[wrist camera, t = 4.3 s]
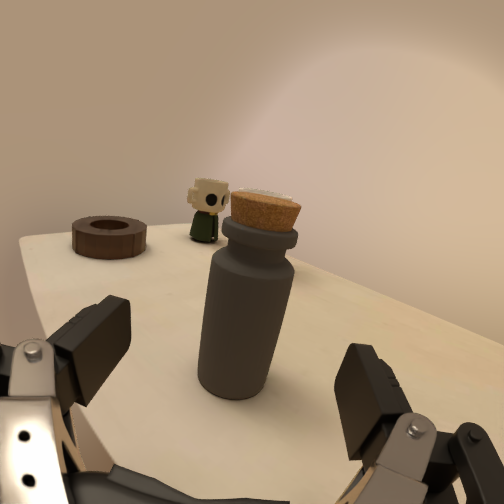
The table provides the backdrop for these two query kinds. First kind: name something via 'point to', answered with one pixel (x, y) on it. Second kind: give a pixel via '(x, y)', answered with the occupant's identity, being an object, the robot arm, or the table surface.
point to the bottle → (247, 295)
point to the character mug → (207, 207)
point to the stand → (108, 237)
